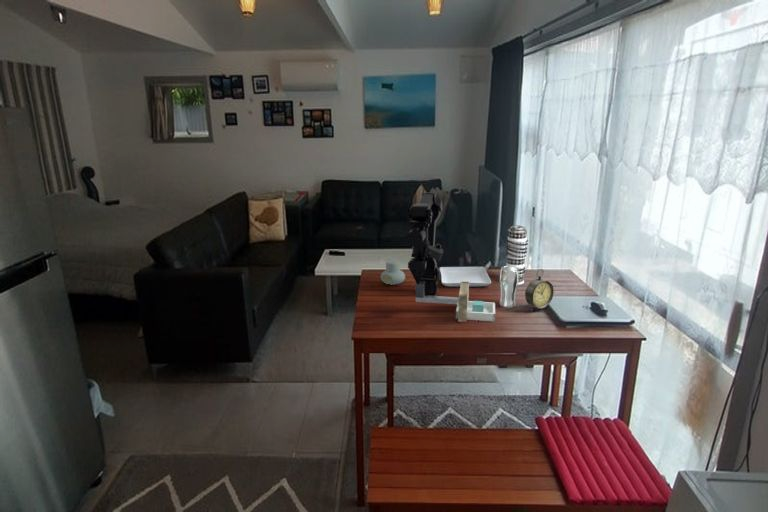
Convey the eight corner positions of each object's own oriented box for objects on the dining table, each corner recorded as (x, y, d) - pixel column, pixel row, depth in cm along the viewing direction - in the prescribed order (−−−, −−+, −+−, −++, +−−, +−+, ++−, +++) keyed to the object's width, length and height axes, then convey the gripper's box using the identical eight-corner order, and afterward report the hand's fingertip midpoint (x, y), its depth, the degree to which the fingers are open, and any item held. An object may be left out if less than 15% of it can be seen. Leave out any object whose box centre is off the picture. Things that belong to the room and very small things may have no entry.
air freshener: (408, 283, 207) (408, 261, 204) (396, 288, 201) (396, 266, 198) (389, 277, 214) (389, 257, 211) (377, 282, 208) (377, 261, 205)
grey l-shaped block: (415, 302, 176) (415, 283, 174) (416, 299, 179) (416, 280, 177) (462, 305, 173) (462, 286, 170) (462, 302, 175) (463, 283, 173)
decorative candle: (527, 285, 202) (532, 229, 194) (506, 285, 202) (509, 229, 195) (522, 277, 211) (525, 224, 203) (501, 278, 211) (504, 224, 203)
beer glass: (517, 308, 178) (519, 272, 174) (498, 307, 179) (500, 271, 175) (516, 301, 184) (518, 266, 180) (498, 300, 186) (500, 265, 181)
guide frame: (458, 321, 168) (458, 296, 165) (460, 305, 182) (461, 281, 179) (466, 322, 168) (467, 296, 165) (468, 305, 182) (469, 281, 179)
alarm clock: (531, 314, 173) (535, 273, 168) (521, 309, 178) (524, 269, 173) (553, 308, 178) (556, 268, 173) (542, 303, 182) (545, 264, 178)
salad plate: (441, 289, 200) (441, 282, 199) (439, 273, 220) (439, 266, 219) (491, 289, 198) (492, 282, 197) (484, 273, 218) (484, 266, 217)
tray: (455, 318, 171) (455, 311, 170) (457, 307, 181) (457, 300, 180) (494, 321, 168) (495, 314, 167) (494, 309, 178) (494, 302, 177)
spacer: (472, 304, 171) (483, 305, 170) (472, 300, 175) (483, 301, 174) (472, 314, 172) (483, 315, 172) (472, 310, 176) (483, 311, 175)
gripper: (439, 247, 160) (439, 289, 164) (444, 234, 177) (443, 272, 182) (407, 246, 162) (407, 288, 166) (415, 233, 179) (415, 271, 184)
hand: (419, 279), depth 175 cm, fingers open, 9 cm apart
